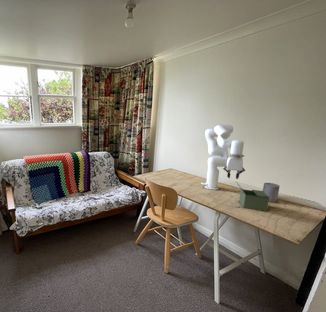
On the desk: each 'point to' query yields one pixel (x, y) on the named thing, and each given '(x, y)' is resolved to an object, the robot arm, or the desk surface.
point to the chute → (254, 199)
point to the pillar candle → (271, 191)
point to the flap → (240, 187)
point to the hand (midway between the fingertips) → (232, 178)
